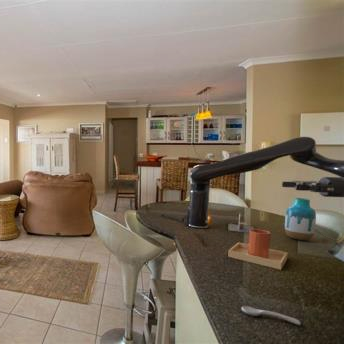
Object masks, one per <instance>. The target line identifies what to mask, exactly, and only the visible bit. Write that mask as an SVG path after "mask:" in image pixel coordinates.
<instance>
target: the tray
mask: <svg viewBox="0 0 344 344" xmlns="http://www.w3.org/2000/svg"><path fill="white" fill-rule="evenodd" d="M227 253H228V254H227V257H228V258H232V259H235V260H239V261H244V262H248V263H252V264H256V265H260V266H263V267H269V268H272V269H276V270H280V271H281V270H282V269H283V267H284V265H285V264H286V262H287V260H288V254H289V253H288V252H287V251H282V250H277V249H272V248H269V257H268V259H266V258H261V257H257V256H253V255H248V243H244V242H237V243H236V244H235V245H233V246H232V247H231V248H229V249H228V252H227Z"/></svg>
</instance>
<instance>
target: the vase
mask: <svg viewBox="0 0 344 344" xmlns="http://www.w3.org/2000/svg"><path fill="white" fill-rule="evenodd" d="M316 222H317V213H316V210H315V208H312V207H311V200H310V199H309V198H304V197H294V199H293V204H292V205H290V206H288V207H287V209H286V212H285V219H284V232H285V234H286V235H287V236H288V237H289V238H291V239H293V240H298V241H309V240H311V239H312V238H313V237H314V235H315V231H316V224H317V223H316Z"/></svg>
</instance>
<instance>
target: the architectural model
mask: <svg viewBox="0 0 344 344" xmlns="http://www.w3.org/2000/svg"><path fill="white" fill-rule="evenodd" d="M250 229H255V228H254V226H249V225H248V221H247V220H245V214H241V213H239V216H238V224H236V223H235V224H234V223H228V226H227V230H228V231H232V232H240V233H244V234H245V233H247V234H249V230H250Z"/></svg>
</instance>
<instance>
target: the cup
mask: <svg viewBox="0 0 344 344" xmlns="http://www.w3.org/2000/svg"><path fill="white" fill-rule="evenodd" d="M247 244H248V255H253V256H257V257H261V258H266V259H268V257H269V249H270V244H271V231H268V230H266V229H259V228H254V229H250V230H249V233H248V243H247Z"/></svg>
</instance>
